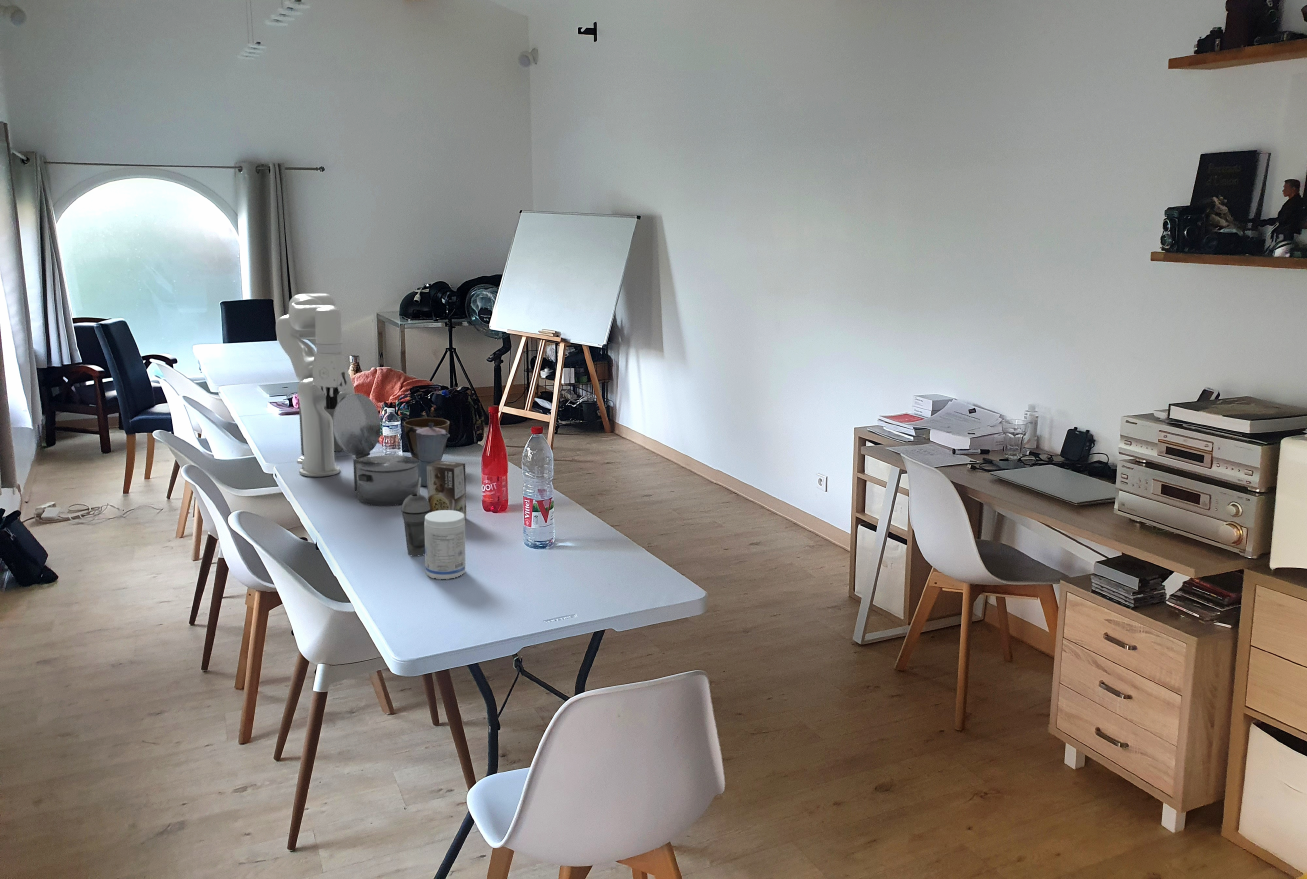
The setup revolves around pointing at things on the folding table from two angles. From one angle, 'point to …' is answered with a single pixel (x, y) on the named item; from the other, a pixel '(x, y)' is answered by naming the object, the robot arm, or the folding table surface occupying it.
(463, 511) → the coffee box
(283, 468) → the folding table surface
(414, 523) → the beverage cup
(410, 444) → the moka pot
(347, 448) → the lid
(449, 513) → the supplement tub
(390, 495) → the cooking pot
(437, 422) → the plant pot
